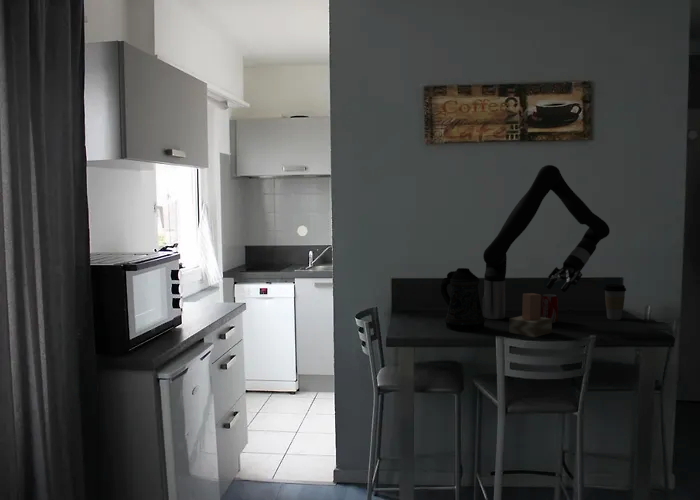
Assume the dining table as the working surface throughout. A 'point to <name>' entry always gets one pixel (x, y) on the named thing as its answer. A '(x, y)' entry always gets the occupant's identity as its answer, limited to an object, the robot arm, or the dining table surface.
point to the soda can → (549, 307)
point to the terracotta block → (531, 306)
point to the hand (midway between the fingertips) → (555, 289)
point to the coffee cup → (614, 300)
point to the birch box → (530, 326)
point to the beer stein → (462, 301)
